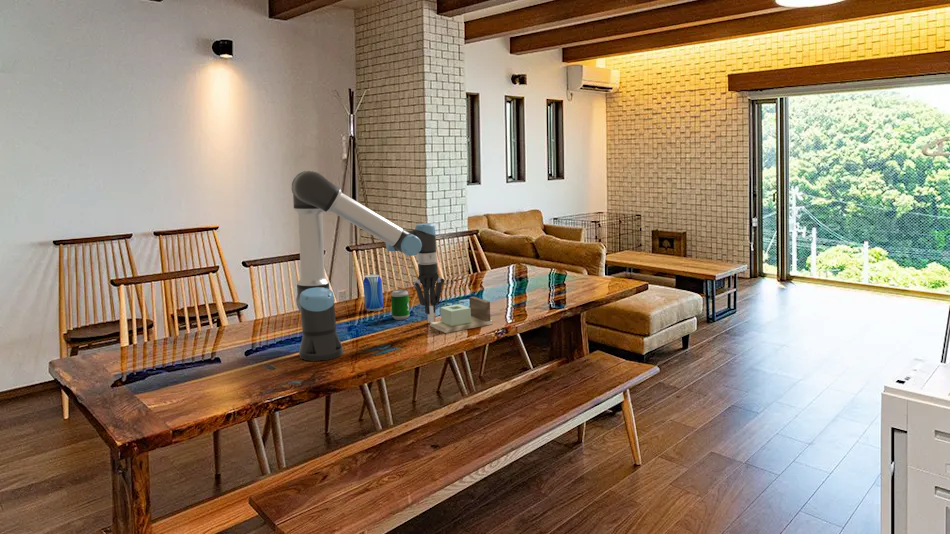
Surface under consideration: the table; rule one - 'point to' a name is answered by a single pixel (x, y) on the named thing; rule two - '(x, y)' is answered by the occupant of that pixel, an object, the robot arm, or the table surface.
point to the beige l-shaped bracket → (478, 317)
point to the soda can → (400, 304)
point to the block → (455, 315)
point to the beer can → (373, 293)
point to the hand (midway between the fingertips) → (430, 321)
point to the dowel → (434, 313)
